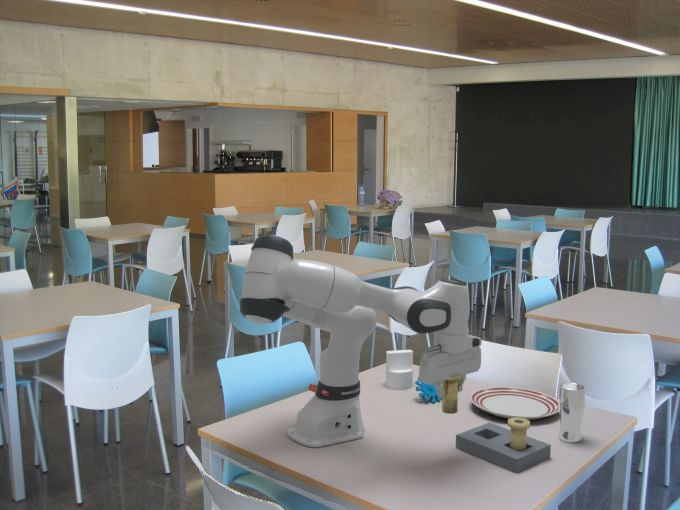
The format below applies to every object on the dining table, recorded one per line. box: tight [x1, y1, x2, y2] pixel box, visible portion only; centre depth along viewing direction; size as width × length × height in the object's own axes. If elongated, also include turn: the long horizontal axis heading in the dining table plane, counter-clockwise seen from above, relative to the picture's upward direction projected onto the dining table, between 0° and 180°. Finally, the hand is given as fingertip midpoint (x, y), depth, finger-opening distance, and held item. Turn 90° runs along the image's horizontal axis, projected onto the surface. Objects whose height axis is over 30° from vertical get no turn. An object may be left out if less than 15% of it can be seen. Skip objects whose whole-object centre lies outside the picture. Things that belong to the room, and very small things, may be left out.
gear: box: [414, 376, 442, 404], centre depth 229 cm, size 11×6×10 cm
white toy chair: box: [385, 349, 414, 391], centre depth 241 cm, size 9×9×12 cm
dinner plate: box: [469, 386, 559, 421], centre depth 219 cm, size 28×27×3 cm
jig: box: [455, 418, 552, 474], centre depth 186 cm, size 20×14×10 cm
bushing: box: [441, 374, 461, 415], centre depth 184 cm, size 6×6×10 cm
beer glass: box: [557, 382, 586, 444], centre depth 195 cm, size 7×7×15 cm
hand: (449, 393), depth 184 cm, fingers closed on bushing, 5 cm apart
